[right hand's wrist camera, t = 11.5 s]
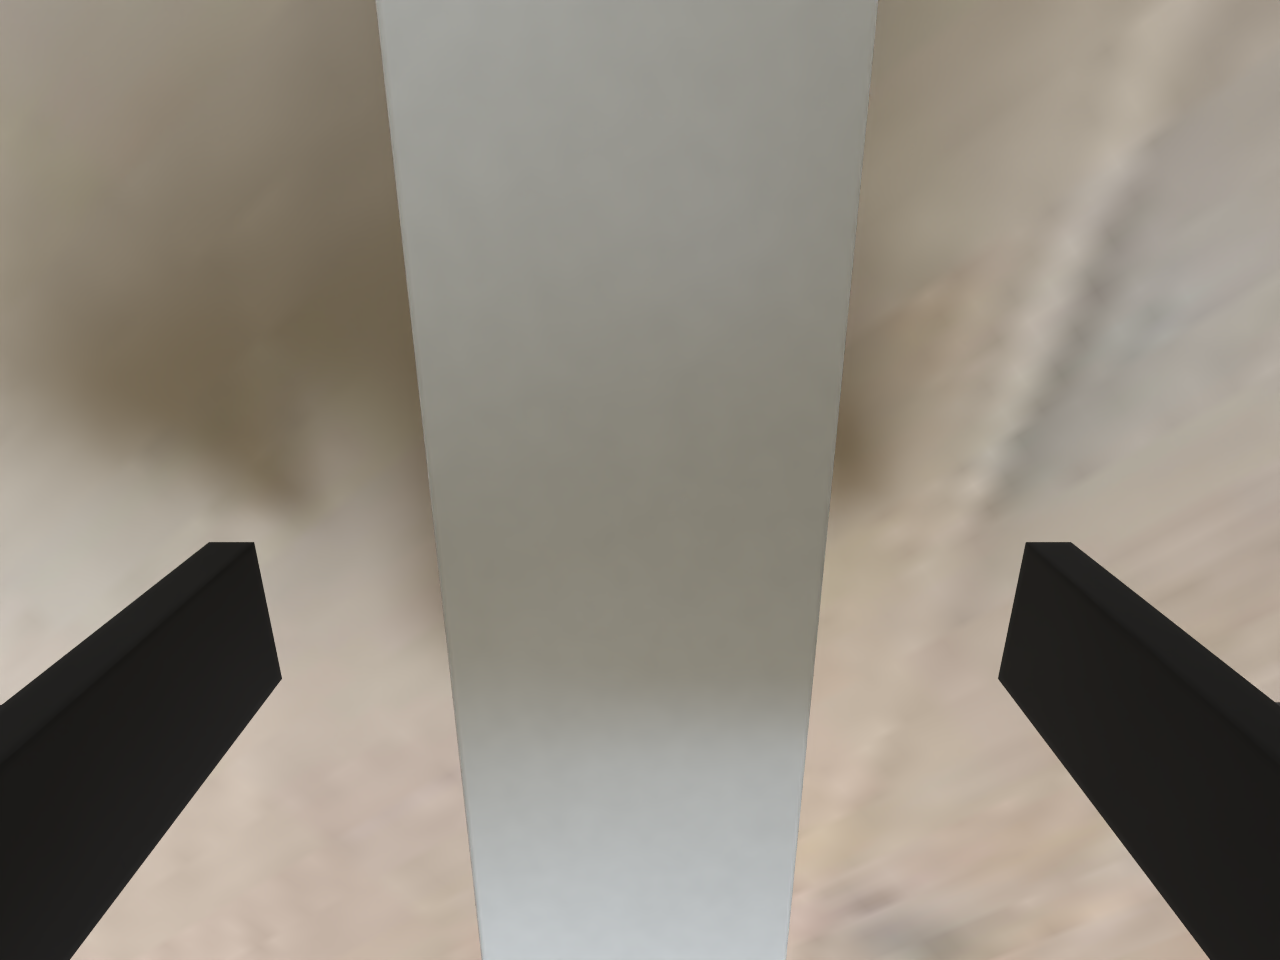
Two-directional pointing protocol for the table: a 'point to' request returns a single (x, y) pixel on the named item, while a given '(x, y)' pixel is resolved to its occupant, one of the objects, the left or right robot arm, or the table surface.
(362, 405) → the table surface
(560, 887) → the bar
